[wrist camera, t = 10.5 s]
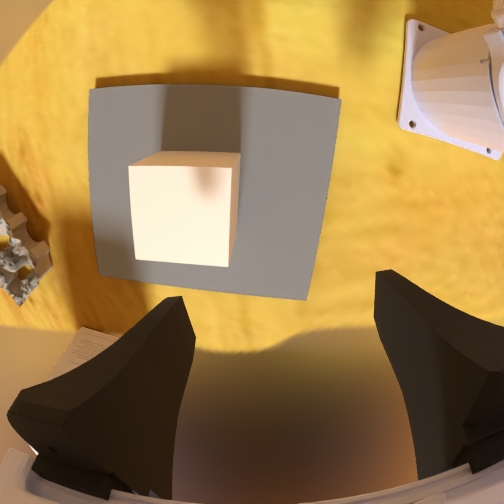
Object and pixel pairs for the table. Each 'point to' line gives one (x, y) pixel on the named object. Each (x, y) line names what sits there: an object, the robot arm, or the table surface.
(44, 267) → the egg carton
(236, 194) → the cube
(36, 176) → the table surface
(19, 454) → the robot arm
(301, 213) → the mat
